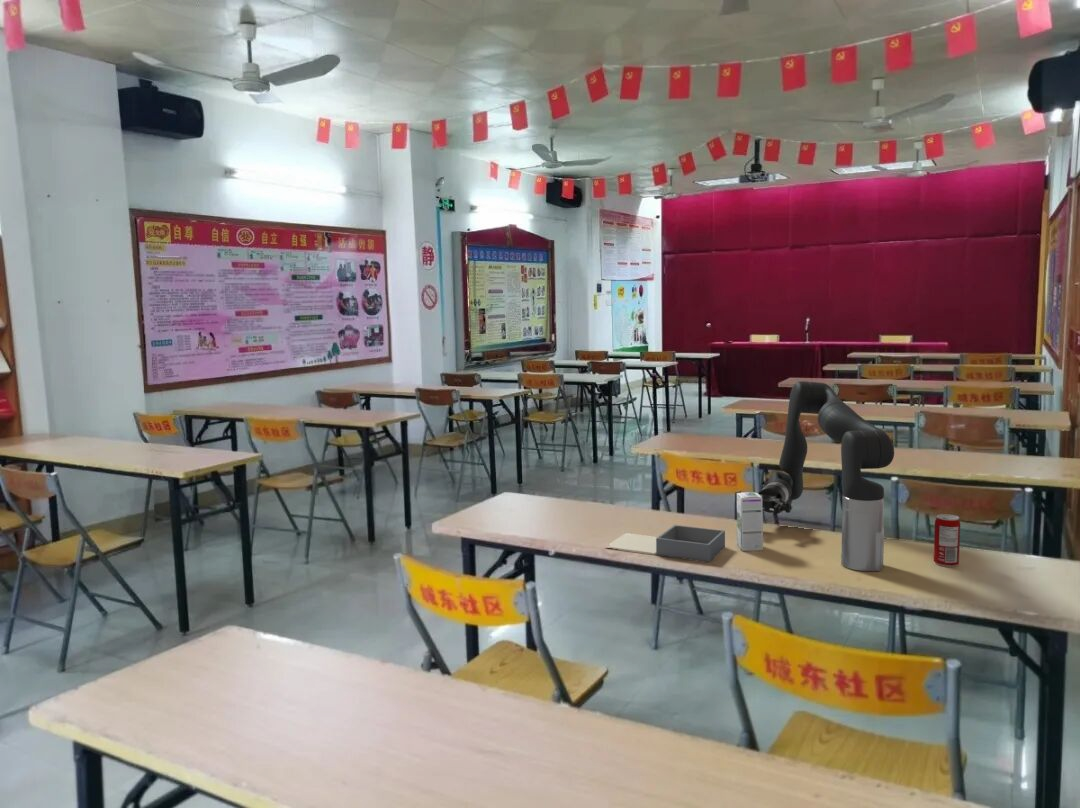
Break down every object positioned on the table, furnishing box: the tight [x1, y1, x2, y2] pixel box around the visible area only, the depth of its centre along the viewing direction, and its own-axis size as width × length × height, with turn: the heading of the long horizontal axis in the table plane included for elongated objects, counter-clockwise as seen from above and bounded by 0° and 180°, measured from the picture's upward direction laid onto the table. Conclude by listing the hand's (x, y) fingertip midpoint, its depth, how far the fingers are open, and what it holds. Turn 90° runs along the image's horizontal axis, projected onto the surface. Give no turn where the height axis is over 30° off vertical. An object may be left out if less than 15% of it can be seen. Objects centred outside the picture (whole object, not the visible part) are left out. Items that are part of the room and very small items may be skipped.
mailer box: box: [605, 524, 726, 563], centre depth 210 cm, size 28×14×4 cm, turn 61°
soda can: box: [933, 513, 961, 567], centre depth 191 cm, size 6×6×12 cm
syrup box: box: [736, 491, 764, 552], centre depth 207 cm, size 6×6×14 cm
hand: (759, 509), depth 216 cm, fingers open, 8 cm apart
